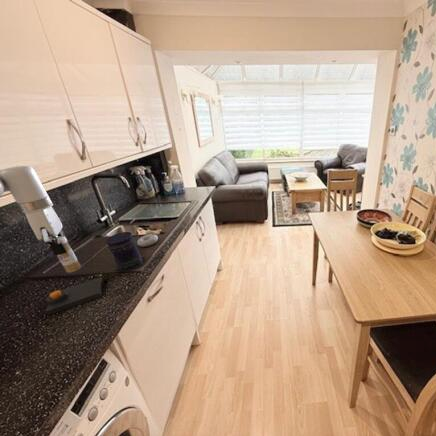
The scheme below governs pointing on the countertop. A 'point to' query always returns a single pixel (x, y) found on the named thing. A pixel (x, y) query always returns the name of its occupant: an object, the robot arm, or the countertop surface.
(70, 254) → the sprinkles bottle
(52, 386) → the countertop surface
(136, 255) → the storage jar
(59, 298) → the scale
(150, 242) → the donut
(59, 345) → the countertop surface
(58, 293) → the tare button
